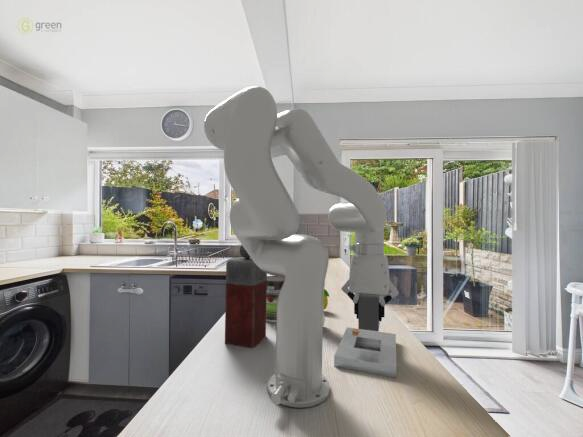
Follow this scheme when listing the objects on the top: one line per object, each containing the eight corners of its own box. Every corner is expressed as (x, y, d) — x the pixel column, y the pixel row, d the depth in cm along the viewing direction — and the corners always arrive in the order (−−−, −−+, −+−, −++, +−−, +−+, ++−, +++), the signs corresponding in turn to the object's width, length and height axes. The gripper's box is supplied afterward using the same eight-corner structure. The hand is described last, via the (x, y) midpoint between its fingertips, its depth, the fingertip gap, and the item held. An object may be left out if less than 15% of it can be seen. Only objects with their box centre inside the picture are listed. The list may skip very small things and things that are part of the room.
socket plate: (396, 377, 63) (396, 363, 63) (334, 366, 68) (334, 353, 68) (395, 342, 82) (395, 331, 82) (346, 335, 87) (346, 325, 87)
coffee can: (284, 323, 96) (285, 282, 96) (255, 320, 99) (256, 280, 99) (291, 314, 106) (292, 276, 106) (265, 311, 109) (266, 274, 109)
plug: (378, 331, 72) (378, 299, 72) (358, 328, 73) (358, 298, 73) (380, 319, 80) (380, 291, 80) (362, 317, 82) (361, 289, 82)
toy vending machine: (269, 333, 87) (270, 242, 88) (253, 348, 77) (255, 244, 77) (243, 329, 90) (244, 241, 91) (224, 343, 80) (226, 243, 80)
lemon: (329, 314, 106) (329, 287, 106) (313, 314, 107) (313, 287, 107) (327, 309, 113) (328, 284, 113) (313, 308, 113) (313, 283, 114)
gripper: (334, 250, 75) (334, 319, 75) (404, 252, 69) (404, 327, 69) (339, 247, 82) (339, 310, 82) (403, 249, 76) (403, 317, 76)
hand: (369, 317), depth 75 cm, fingers closed on plug, 5 cm apart
